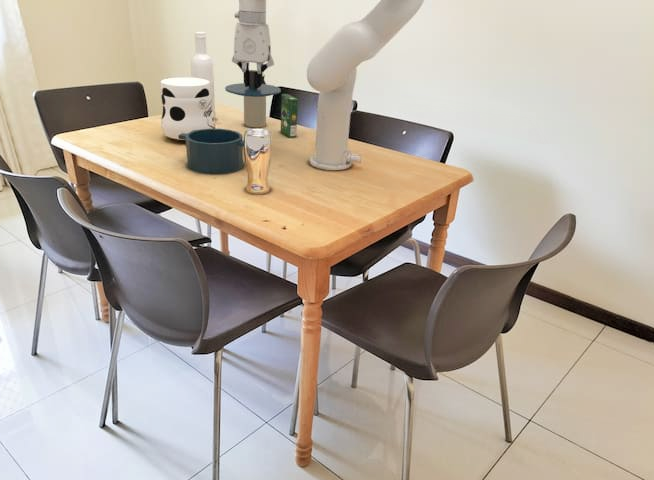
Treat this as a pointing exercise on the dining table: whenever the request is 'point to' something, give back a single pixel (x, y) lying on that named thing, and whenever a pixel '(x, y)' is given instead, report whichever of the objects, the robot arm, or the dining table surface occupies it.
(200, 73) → the bottle
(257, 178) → the beer glass
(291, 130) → the coffee box
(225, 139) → the pot
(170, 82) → the milk container
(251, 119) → the travel mug
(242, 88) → the lid
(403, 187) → the dining table surface
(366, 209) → the dining table surface
